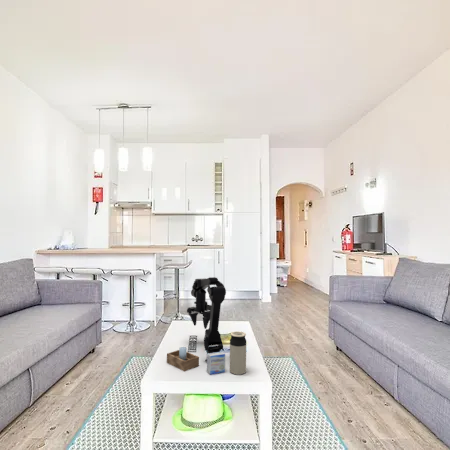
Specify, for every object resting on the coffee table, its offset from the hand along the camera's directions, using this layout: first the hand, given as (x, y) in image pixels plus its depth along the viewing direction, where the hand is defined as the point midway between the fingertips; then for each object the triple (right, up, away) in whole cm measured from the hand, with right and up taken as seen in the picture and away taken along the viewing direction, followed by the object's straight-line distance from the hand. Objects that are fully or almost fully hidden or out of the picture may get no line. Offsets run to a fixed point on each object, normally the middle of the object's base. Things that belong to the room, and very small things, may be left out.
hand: (200, 327), depth 183 cm
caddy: (-7, -11, -25) cm, 28 cm away
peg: (-7, -11, -25) cm, 28 cm away
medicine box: (+10, -11, -33) cm, 36 cm away
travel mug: (+21, -11, -32) cm, 40 cm away
